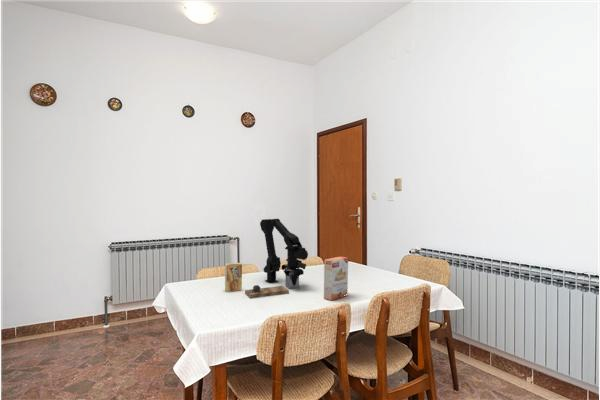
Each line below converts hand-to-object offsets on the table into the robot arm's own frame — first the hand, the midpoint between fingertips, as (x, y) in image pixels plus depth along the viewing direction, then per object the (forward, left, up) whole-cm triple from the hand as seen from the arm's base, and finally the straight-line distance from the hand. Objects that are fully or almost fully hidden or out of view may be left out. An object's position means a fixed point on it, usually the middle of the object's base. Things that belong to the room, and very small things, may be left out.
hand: (292, 284), depth 210 cm
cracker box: (+28, +13, -2) cm, 31 cm away
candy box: (-8, -33, -2) cm, 34 cm away
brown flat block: (+6, -18, -2) cm, 19 cm away
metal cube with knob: (0, 0, -2) cm, 2 cm away
